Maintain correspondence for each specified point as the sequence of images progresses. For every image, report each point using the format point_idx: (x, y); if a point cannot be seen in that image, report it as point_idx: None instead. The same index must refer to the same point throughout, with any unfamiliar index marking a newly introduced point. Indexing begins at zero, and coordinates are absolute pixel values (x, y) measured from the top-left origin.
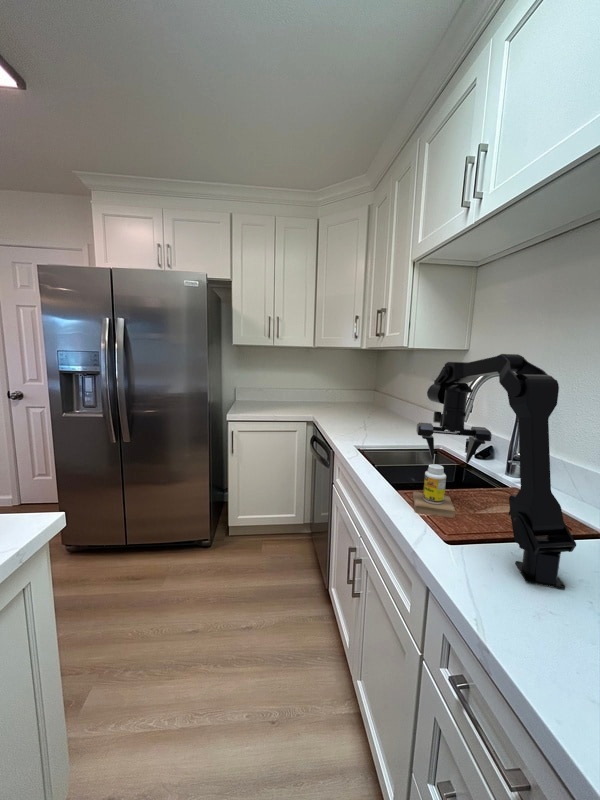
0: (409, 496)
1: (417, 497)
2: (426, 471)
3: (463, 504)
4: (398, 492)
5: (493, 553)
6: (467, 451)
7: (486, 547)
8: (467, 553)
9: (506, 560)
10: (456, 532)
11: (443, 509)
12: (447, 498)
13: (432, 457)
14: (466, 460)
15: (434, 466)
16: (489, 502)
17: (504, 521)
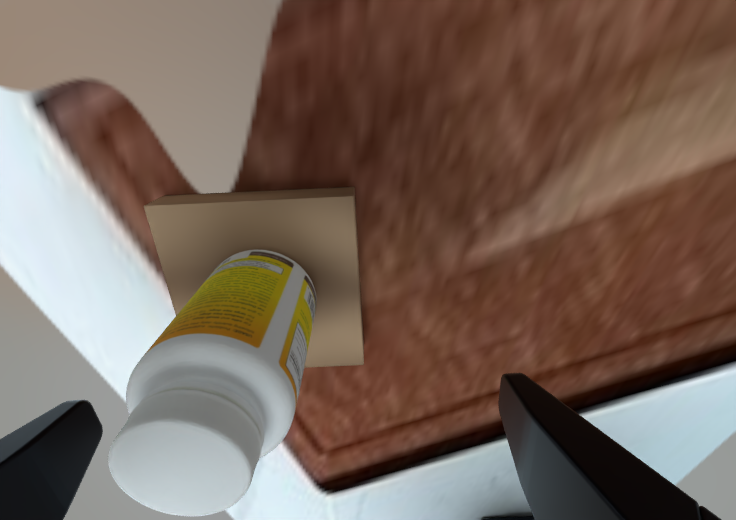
0: (140, 177)
1: (182, 281)
2: (130, 411)
3: (431, 177)
4: (62, 138)
5: (442, 495)
6: (595, 507)
7: (431, 477)
8: (373, 513)
9: (465, 510)
10: (358, 433)
11: (314, 366)
12: (340, 233)
13: (73, 469)
14: (508, 412)
15: (166, 482)
16: (599, 81)
17: (569, 300)
